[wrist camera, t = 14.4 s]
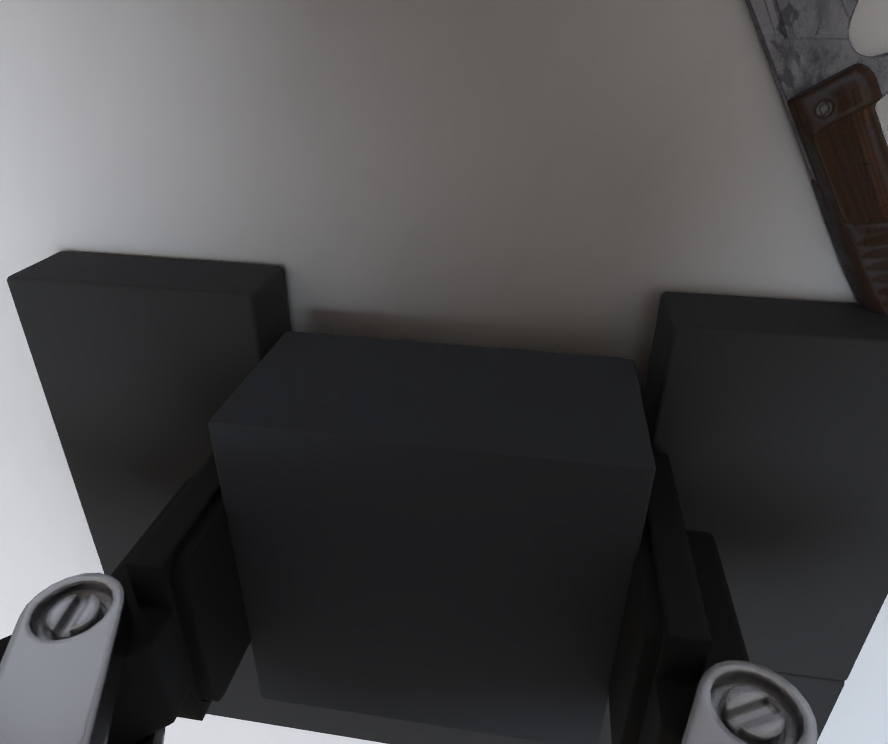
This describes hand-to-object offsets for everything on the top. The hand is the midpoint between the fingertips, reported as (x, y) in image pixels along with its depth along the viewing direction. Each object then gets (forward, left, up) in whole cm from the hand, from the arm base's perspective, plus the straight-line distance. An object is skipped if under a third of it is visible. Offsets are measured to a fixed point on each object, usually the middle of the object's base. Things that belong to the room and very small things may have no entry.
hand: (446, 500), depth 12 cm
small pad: (0, 0, -1) cm, 1 cm away
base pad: (+2, 0, -2) cm, 3 cm away
